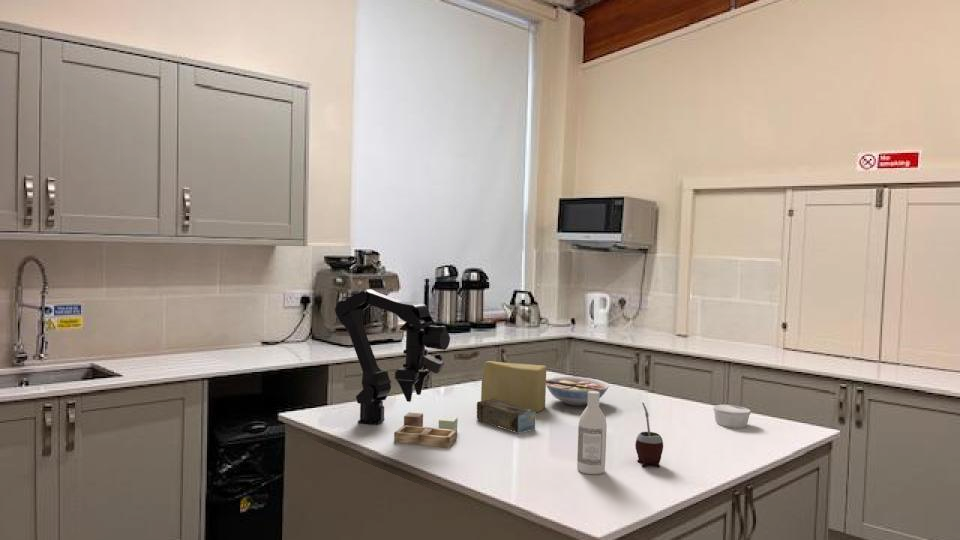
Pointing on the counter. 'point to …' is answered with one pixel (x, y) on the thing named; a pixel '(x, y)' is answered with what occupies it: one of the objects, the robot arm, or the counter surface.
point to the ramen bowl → (575, 389)
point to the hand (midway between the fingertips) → (413, 398)
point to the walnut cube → (413, 419)
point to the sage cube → (448, 423)
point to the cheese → (515, 384)
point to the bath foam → (592, 437)
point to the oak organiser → (425, 436)
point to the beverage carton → (506, 415)
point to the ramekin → (731, 416)
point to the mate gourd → (649, 446)
